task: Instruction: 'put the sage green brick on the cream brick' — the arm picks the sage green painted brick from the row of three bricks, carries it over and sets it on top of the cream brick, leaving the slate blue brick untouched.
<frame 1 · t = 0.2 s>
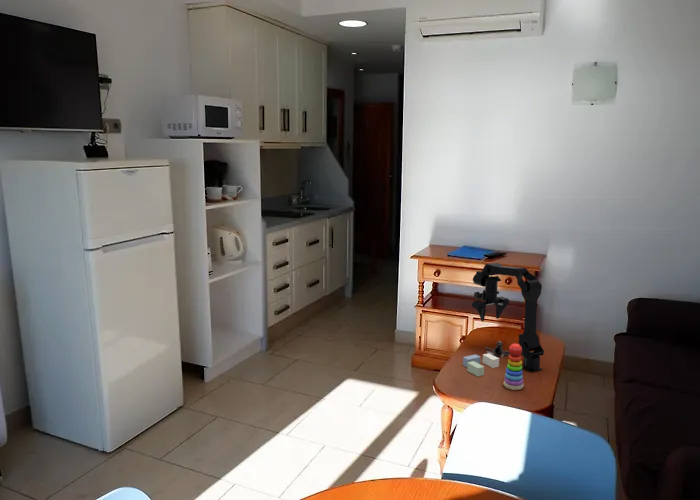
hand: (489, 319, 263), 14 cm above the table, tool pointing down, fingers open, 9 cm apart
stuffed animal: (498, 354, 260), on the table
sage brick: (475, 373, 238), on the table
slate brick: (471, 365, 246), on the table
stacking toy: (513, 386, 224), on the table
cream brick: (490, 364, 246), on the table
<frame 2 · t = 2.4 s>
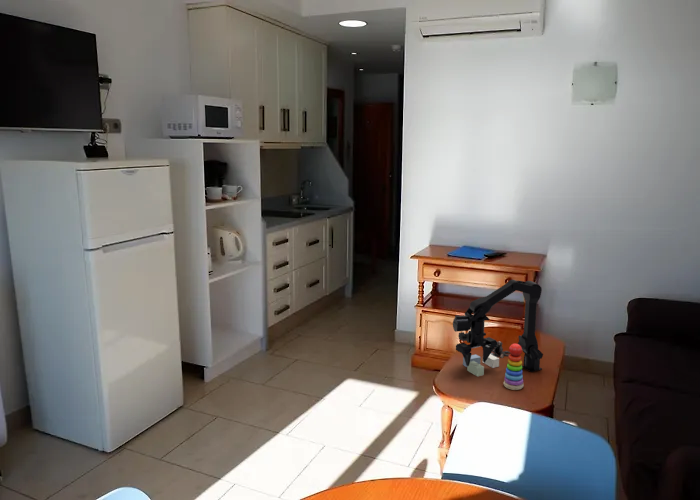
hand: (475, 363, 237), 4 cm above the table, tool pointing down, fingers open, 9 cm apart
nothing on the table moved.
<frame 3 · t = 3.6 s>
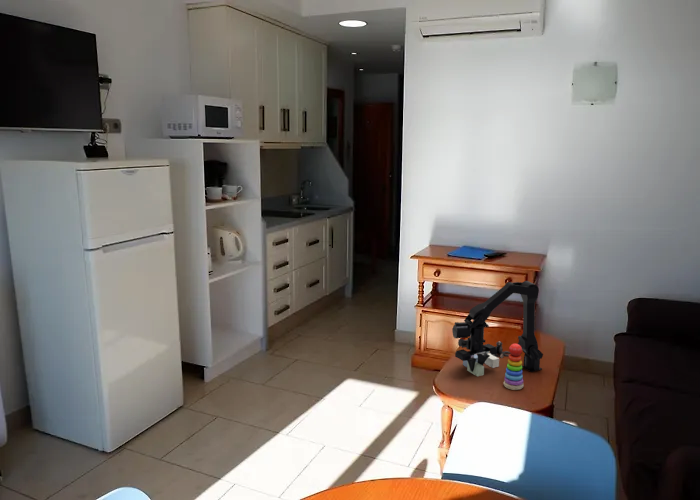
hand: (475, 370, 237), 1 cm above the table, tool pointing down, fingers closed on sage brick, 3 cm apart
sage brick: (475, 372, 238), on the table, touching gripper
everything else where it was.
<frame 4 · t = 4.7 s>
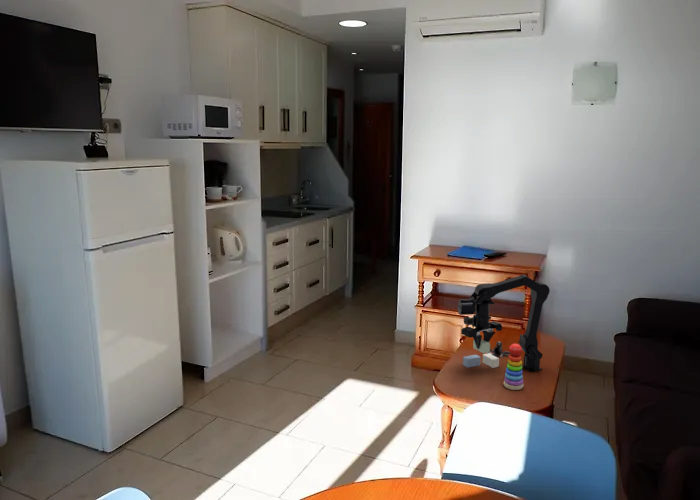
hand: (481, 347, 238), 11 cm above the table, tool pointing down, fingers closed on sage brick, 3 cm apart
sage brick: (481, 349, 238), point 10 cm above the table, touching gripper
everything else where it was.
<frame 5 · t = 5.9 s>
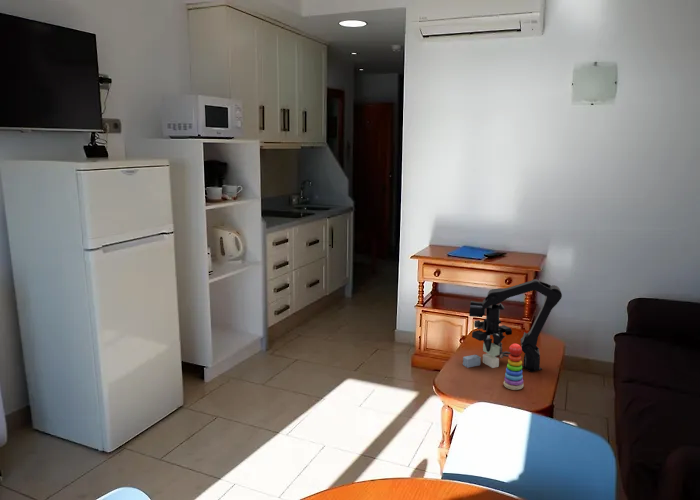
hand: (491, 350, 245), 7 cm above the table, tool pointing down, fingers closed on sage brick, 3 cm apart
sage brick: (491, 352, 245), point 6 cm above the table, touching gripper
everything else where it was.
when the fingers open (6 cm above the table, at t = 6.1 s): sage brick drops 2 cm, resting on cream brick.
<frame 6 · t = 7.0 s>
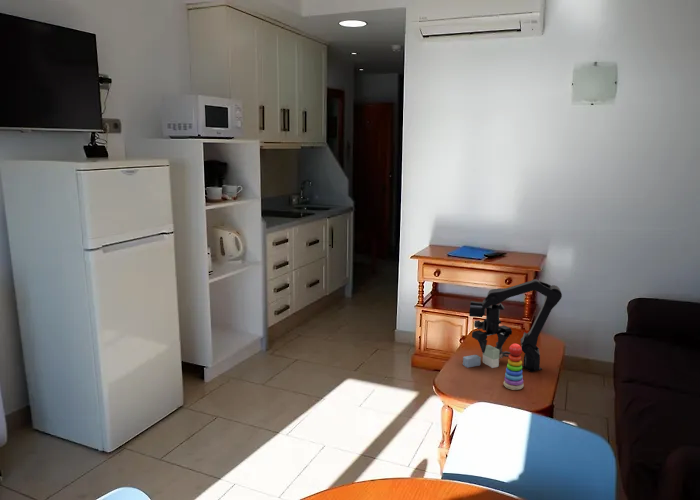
hand: (491, 350, 245), 6 cm above the table, tool pointing down, fingers open, 9 cm apart
sage brick: (490, 356, 246), point 4 cm above the table, touching cream brick
cream brick: (490, 364, 246), on the table, touching sage brick
everything else where it was.
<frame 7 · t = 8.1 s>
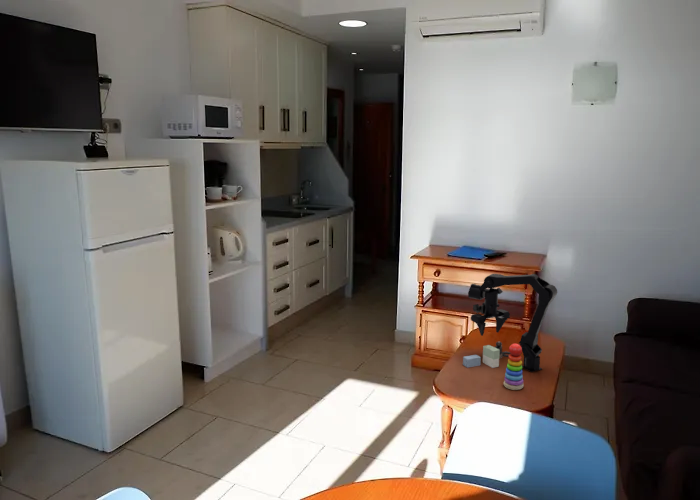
hand: (489, 333, 251), 12 cm above the table, tool pointing down, fingers open, 9 cm apart
nothing on the table moved.
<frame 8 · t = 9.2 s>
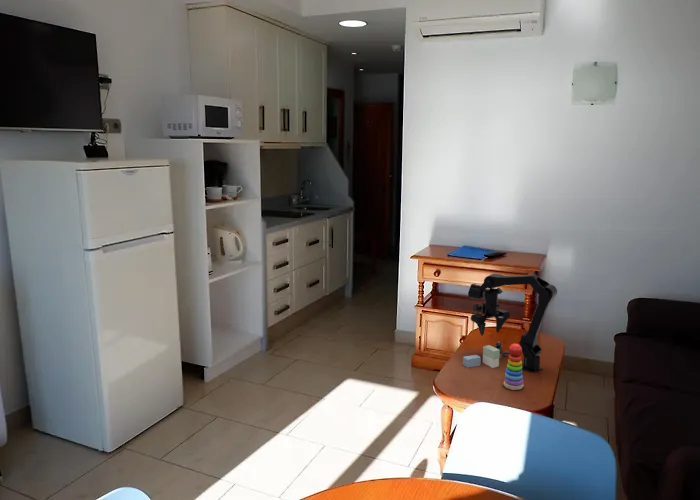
hand: (489, 333, 251), 12 cm above the table, tool pointing down, fingers open, 9 cm apart
nothing on the table moved.
at the end: sage brick 0.1 cm off-centre on the cream brick, point 4.0 cm above the cream brick's base; slate brick moved 0.2 cm from its start; cream brick moved 0.1 cm from its start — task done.
